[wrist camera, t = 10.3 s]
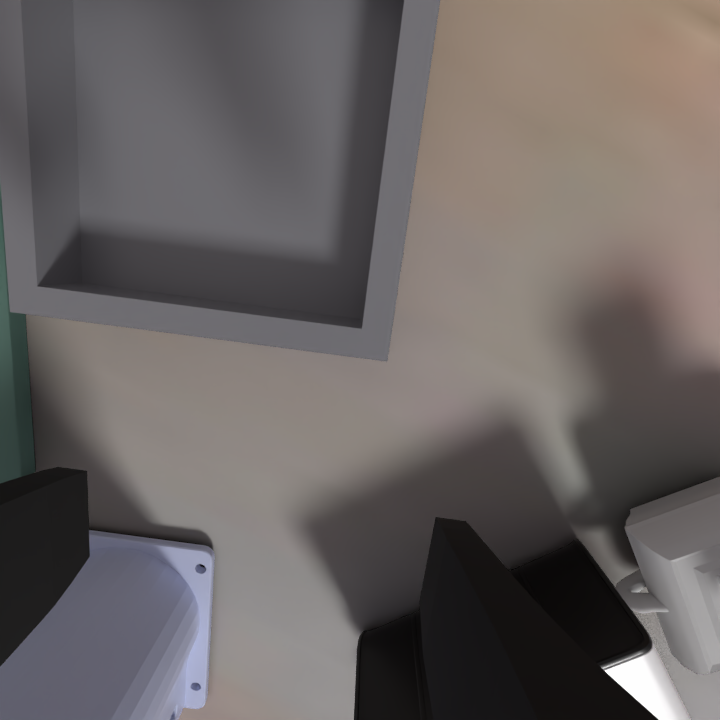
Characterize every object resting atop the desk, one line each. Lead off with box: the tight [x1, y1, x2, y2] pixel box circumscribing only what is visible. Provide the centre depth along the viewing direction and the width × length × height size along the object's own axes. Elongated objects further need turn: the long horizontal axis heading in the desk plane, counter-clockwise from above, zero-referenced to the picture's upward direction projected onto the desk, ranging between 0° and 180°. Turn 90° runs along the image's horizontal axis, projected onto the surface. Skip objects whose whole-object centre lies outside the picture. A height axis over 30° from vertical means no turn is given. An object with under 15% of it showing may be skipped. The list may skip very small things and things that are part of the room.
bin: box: [0, 0, 440, 361], centre depth 14 cm, size 13×13×3 cm
